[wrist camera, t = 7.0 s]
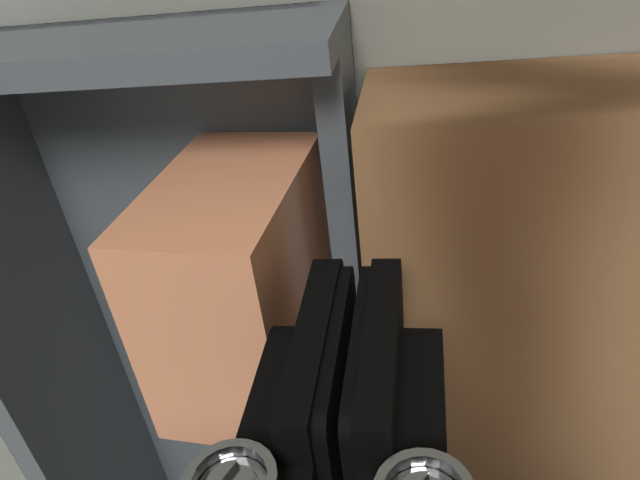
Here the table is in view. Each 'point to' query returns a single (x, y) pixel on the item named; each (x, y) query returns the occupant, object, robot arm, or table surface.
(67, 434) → the box
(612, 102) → the board
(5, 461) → the table surface
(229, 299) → the block terracotta
